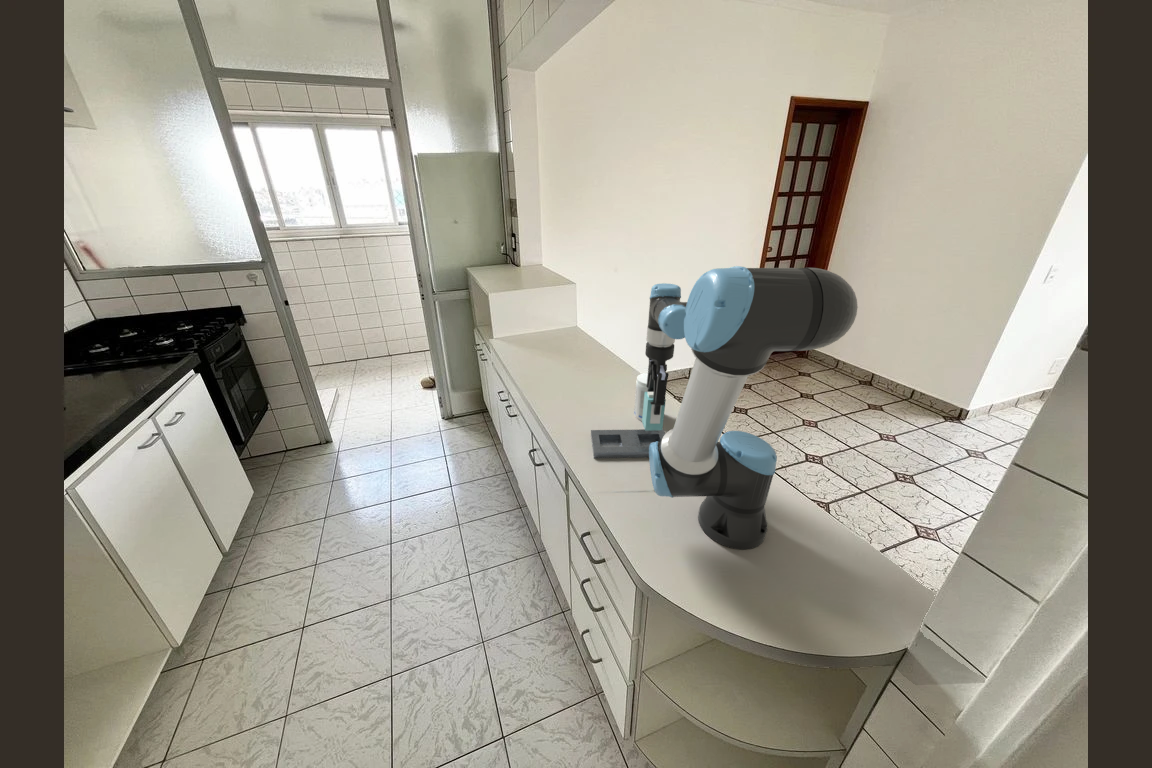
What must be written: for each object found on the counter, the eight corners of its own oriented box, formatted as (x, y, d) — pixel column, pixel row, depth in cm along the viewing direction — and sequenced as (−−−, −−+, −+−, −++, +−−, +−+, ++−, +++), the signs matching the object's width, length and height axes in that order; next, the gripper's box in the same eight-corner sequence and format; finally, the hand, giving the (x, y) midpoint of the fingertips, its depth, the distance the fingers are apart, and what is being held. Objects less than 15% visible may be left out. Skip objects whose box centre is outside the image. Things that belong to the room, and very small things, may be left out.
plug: (662, 430, 119) (666, 397, 115) (645, 430, 119) (648, 397, 114) (658, 421, 124) (661, 389, 119) (641, 421, 124) (644, 389, 119)
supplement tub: (667, 419, 140) (672, 380, 134) (646, 427, 135) (650, 387, 129) (648, 407, 147) (651, 370, 141) (627, 414, 143) (630, 376, 136)
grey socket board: (672, 458, 120) (673, 451, 119) (593, 459, 119) (593, 452, 118) (662, 435, 131) (663, 429, 130) (590, 436, 130) (590, 430, 129)
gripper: (683, 354, 102) (673, 434, 112) (666, 332, 119) (658, 403, 129) (653, 354, 102) (646, 434, 112) (640, 332, 118) (634, 403, 128)
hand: (652, 417), depth 120 cm, fingers closed on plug, 5 cm apart
